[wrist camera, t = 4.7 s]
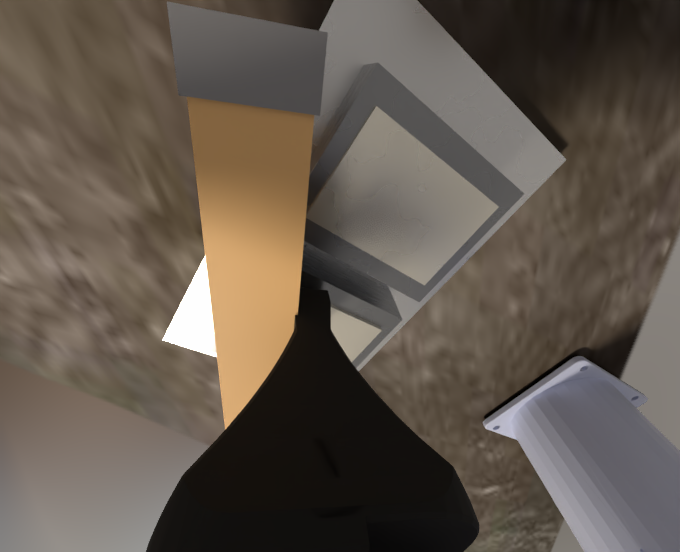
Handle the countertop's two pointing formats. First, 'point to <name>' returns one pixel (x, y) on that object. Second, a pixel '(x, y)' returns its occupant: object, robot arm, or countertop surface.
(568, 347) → the countertop surface
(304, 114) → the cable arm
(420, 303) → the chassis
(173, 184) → the countertop surface
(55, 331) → the countertop surface
